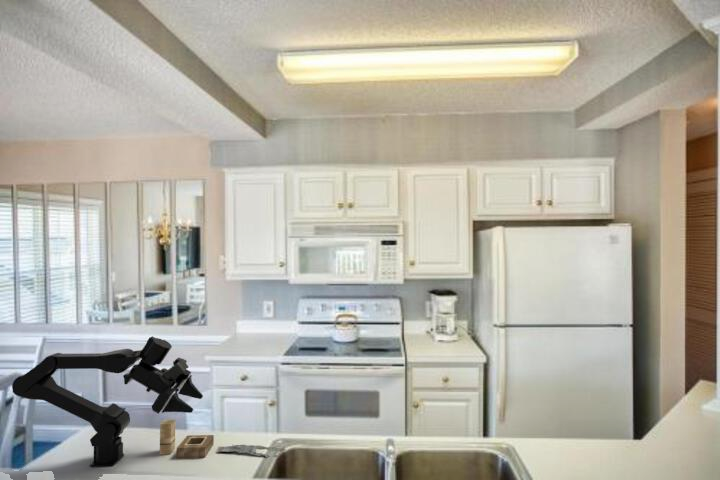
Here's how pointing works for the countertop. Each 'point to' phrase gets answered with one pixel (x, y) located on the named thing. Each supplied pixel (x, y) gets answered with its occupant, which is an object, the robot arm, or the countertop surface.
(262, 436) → the countertop surface
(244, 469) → the countertop surface
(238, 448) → the driftwood
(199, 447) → the board
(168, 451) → the peg
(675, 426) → the countertop surface
